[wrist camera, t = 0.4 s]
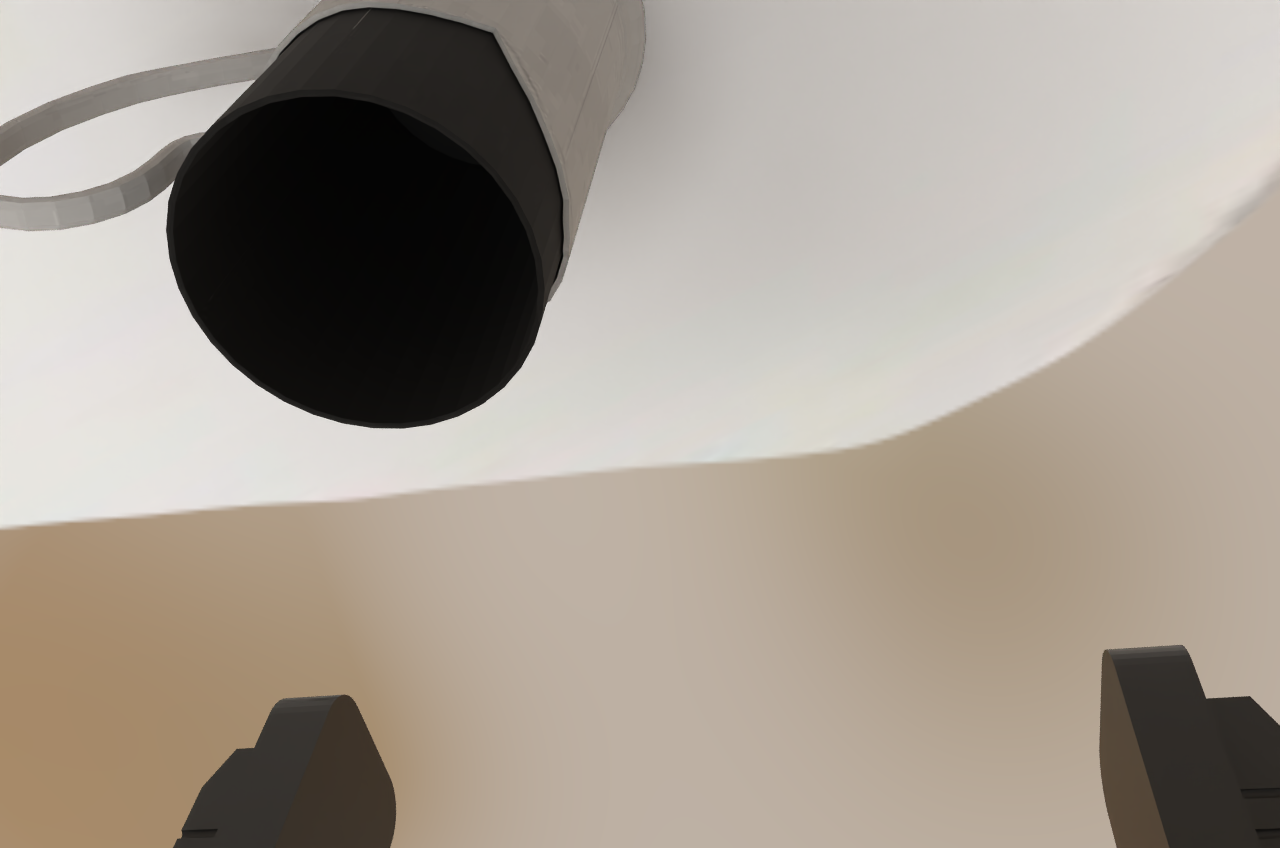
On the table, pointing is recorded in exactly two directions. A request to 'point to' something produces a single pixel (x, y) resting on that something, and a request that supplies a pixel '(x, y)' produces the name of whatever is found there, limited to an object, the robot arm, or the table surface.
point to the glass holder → (374, 193)
